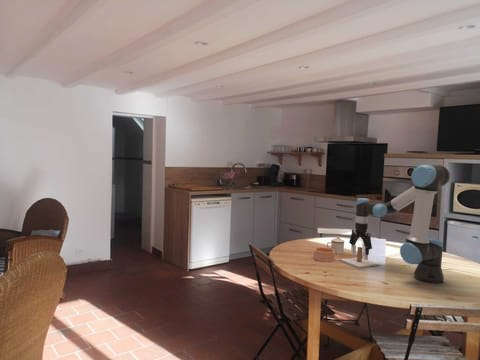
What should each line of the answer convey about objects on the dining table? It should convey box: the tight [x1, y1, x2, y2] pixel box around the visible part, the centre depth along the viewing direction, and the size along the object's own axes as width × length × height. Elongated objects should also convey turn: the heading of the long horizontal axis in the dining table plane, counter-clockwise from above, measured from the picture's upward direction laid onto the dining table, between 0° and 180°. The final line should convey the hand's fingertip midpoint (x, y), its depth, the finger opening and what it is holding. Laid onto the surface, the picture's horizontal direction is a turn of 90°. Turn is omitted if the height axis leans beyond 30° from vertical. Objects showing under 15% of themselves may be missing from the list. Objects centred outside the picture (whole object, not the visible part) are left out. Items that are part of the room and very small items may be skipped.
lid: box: [340, 246, 379, 269], centre depth 232 cm, size 16×16×10 cm
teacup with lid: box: [326, 236, 345, 255], centre depth 258 cm, size 12×9×12 cm
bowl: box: [313, 247, 336, 263], centre depth 238 cm, size 13×13×6 cm
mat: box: [337, 259, 382, 270], centre depth 232 cm, size 19×19×1 cm
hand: (359, 257), depth 232 cm, fingers open, 10 cm apart
